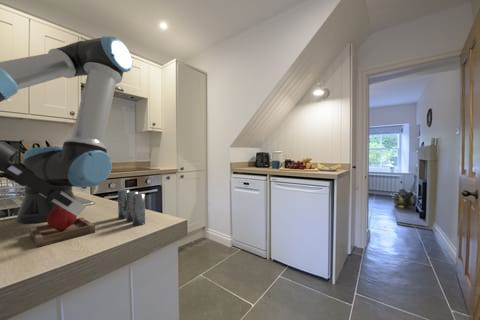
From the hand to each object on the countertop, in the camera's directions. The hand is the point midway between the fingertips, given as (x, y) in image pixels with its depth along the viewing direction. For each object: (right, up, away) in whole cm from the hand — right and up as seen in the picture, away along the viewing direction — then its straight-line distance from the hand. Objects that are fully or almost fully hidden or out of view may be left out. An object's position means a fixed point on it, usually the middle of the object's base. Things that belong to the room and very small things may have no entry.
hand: (73, 207), depth 54 cm
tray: (-1, -7, -2) cm, 7 cm away
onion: (-2, -6, -2) cm, 6 cm away
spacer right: (+15, -7, +6) cm, 17 cm away
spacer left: (+7, -6, +12) cm, 15 cm away
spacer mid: (+11, -7, +10) cm, 16 cm away
